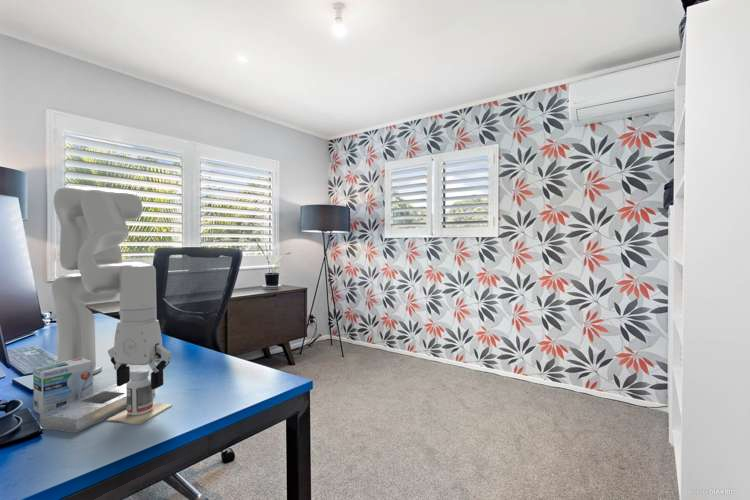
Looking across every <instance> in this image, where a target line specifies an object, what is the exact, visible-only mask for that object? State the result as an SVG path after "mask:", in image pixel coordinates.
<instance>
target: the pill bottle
mask: <svg viewBox="0 0 750 500" xmlns="http://www.w3.org/2000/svg"><path fill="white" fill-rule="evenodd" d="M149 375H150V370H149V369H148V368H140V369H134V370H132V371H131V370H130V381H129V382H128V383H127V385H126V393H127V408H126V409H127V414H128V415H132V416H135V415H141V414H145V413H147V412H149V411H151V410H152V408H153V403H154V402H153V401H154V400H153V399H154V398H153V397H154V396H153V395H154V394H153V392H152V389H151V377H149Z"/></svg>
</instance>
